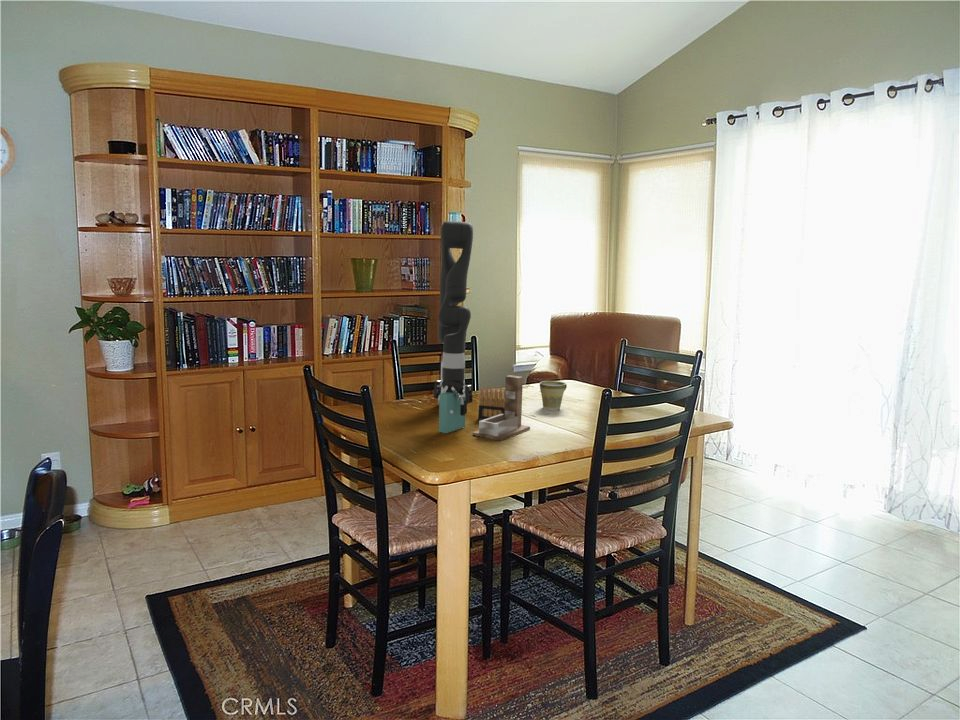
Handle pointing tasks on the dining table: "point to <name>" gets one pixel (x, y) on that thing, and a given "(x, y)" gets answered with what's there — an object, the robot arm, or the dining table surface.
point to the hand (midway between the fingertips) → (452, 413)
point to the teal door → (450, 413)
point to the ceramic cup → (552, 394)
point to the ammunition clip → (491, 403)
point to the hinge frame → (506, 414)
